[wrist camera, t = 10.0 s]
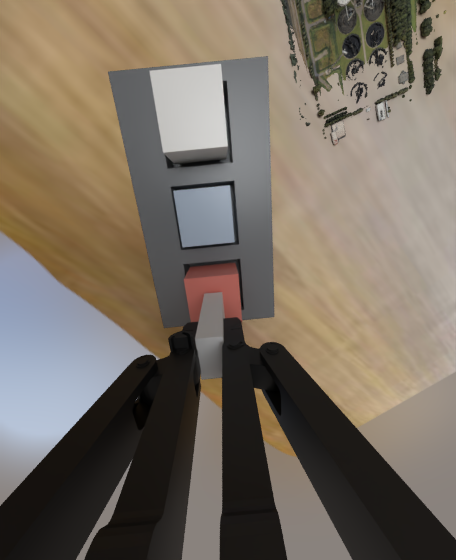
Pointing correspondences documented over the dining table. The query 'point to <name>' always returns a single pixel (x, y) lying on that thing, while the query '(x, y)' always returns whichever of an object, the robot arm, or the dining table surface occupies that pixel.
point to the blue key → (205, 216)
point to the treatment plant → (357, 44)
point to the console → (203, 186)
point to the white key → (191, 113)
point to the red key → (213, 288)
